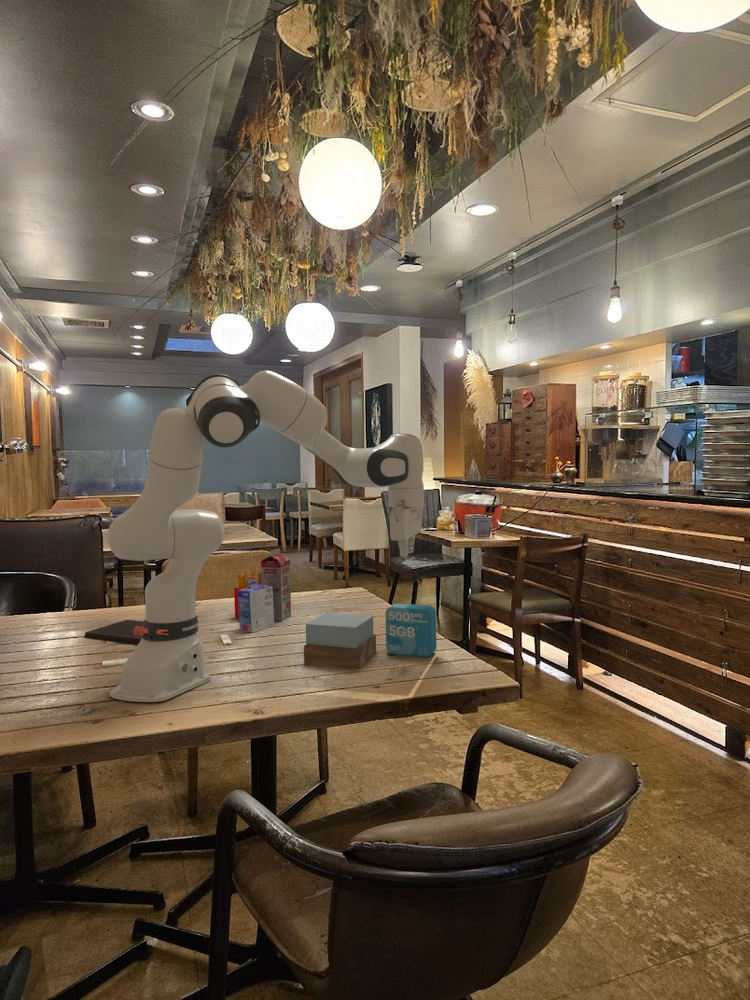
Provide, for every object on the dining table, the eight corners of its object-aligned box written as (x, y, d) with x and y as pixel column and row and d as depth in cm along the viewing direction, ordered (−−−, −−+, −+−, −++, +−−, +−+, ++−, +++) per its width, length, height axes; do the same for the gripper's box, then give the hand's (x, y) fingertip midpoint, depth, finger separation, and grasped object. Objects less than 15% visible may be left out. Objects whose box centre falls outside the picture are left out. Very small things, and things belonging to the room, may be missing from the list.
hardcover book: (127, 627, 199) (126, 619, 199) (187, 633, 189) (186, 625, 189) (84, 640, 184) (84, 632, 184) (147, 648, 175) (146, 639, 175)
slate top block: (356, 648, 153) (355, 627, 152) (306, 644, 157) (305, 623, 157) (373, 635, 164) (373, 616, 164) (326, 632, 168) (325, 612, 168)
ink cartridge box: (261, 623, 197) (260, 576, 196) (275, 626, 194) (273, 578, 193) (237, 631, 189) (236, 581, 188) (251, 633, 186) (250, 583, 185)
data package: (385, 653, 164) (385, 606, 163) (391, 648, 168) (391, 602, 167) (431, 657, 159) (431, 609, 159) (436, 652, 164) (436, 605, 163)
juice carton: (262, 621, 200) (260, 550, 199) (272, 616, 207) (270, 547, 205) (282, 622, 198) (280, 551, 197) (291, 617, 205) (289, 548, 203)
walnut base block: (359, 670, 152) (359, 649, 152) (304, 666, 156) (303, 645, 156) (376, 653, 166) (375, 634, 165) (324, 650, 170) (324, 631, 169)
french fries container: (233, 619, 203) (232, 575, 202) (254, 613, 211) (253, 571, 210) (249, 622, 199) (248, 577, 198) (270, 616, 207) (269, 572, 206)
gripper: (409, 502, 151) (410, 561, 151) (426, 497, 170) (427, 549, 171) (383, 502, 152) (383, 560, 153) (403, 497, 172) (403, 549, 173)
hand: (406, 554), depth 162 cm, fingers open, 5 cm apart
